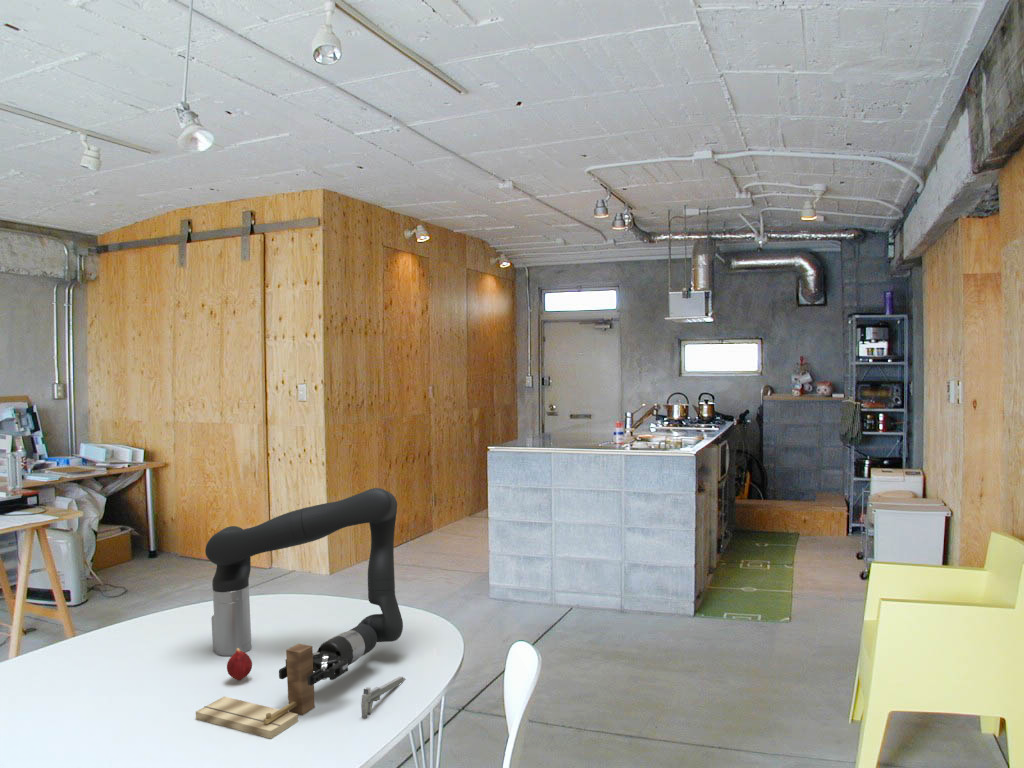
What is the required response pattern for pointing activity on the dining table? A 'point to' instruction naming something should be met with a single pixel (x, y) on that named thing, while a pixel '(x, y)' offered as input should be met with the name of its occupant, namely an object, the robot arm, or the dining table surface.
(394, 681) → the caliper
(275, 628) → the dining table surface
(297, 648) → the block
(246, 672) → the onion
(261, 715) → the board
